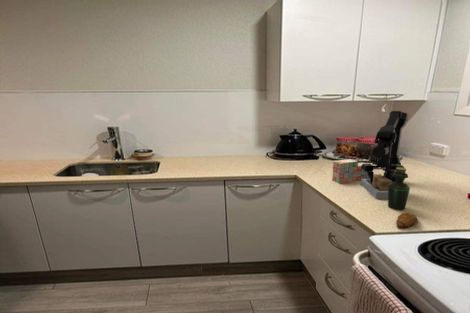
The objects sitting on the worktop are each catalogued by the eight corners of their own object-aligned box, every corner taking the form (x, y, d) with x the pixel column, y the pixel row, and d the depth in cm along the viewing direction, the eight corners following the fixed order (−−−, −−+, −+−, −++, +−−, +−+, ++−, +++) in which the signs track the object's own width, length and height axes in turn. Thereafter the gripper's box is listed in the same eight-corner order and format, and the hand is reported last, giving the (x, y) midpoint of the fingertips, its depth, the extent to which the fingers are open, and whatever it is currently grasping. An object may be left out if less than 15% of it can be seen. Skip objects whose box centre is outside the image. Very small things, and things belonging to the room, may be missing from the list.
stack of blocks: (361, 177, 159) (363, 157, 156) (369, 180, 153) (371, 159, 151) (331, 180, 154) (333, 160, 151) (338, 183, 148) (340, 163, 145)
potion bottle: (381, 204, 119) (386, 166, 115) (398, 203, 119) (403, 165, 115) (393, 211, 111) (398, 171, 107) (411, 210, 111) (417, 170, 107)
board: (391, 191, 128) (392, 181, 127) (380, 191, 128) (382, 181, 127) (379, 184, 139) (380, 174, 138) (370, 184, 140) (371, 174, 139)
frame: (383, 185, 144) (384, 179, 143) (402, 199, 123) (403, 192, 123) (360, 184, 145) (361, 178, 144) (375, 198, 125) (376, 192, 124)
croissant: (409, 233, 94) (410, 220, 93) (389, 226, 99) (390, 214, 98) (424, 222, 101) (425, 211, 100) (405, 216, 107) (406, 205, 106)
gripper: (396, 151, 136) (392, 179, 140) (359, 151, 139) (356, 178, 142) (407, 155, 126) (403, 186, 129) (366, 155, 128) (363, 185, 131)
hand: (380, 183), depth 133 cm, fingers open, 9 cm apart
